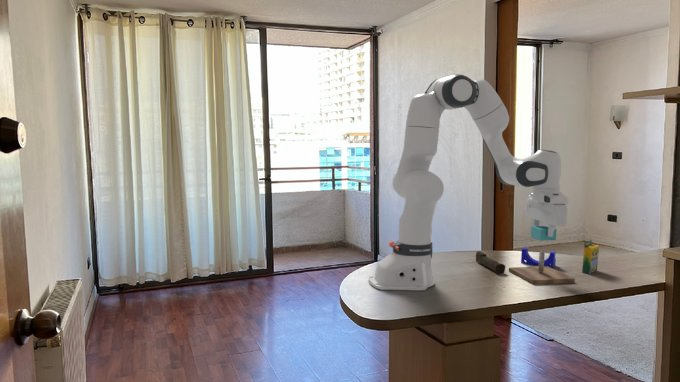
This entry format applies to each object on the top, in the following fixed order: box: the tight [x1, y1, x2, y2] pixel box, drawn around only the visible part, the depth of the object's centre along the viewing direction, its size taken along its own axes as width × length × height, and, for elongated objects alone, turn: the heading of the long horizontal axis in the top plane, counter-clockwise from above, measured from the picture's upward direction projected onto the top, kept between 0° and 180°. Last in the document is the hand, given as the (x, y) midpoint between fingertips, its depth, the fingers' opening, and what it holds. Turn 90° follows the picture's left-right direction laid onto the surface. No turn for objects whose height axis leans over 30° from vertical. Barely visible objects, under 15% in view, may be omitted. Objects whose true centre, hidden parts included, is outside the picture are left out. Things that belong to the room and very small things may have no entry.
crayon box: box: [581, 239, 600, 275], centre depth 184 cm, size 7×3×12 cm, turn 132°
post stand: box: [508, 250, 576, 286], centre depth 176 cm, size 16×16×10 cm
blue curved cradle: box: [520, 247, 557, 269], centre depth 194 cm, size 12×4×6 cm, turn 56°
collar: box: [530, 225, 557, 242], centre depth 175 cm, size 6×6×4 cm
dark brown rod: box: [475, 250, 506, 275], centre depth 189 cm, size 19×4×5 cm, turn 9°
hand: (543, 234), depth 175 cm, fingers closed on collar, 6 cm apart
